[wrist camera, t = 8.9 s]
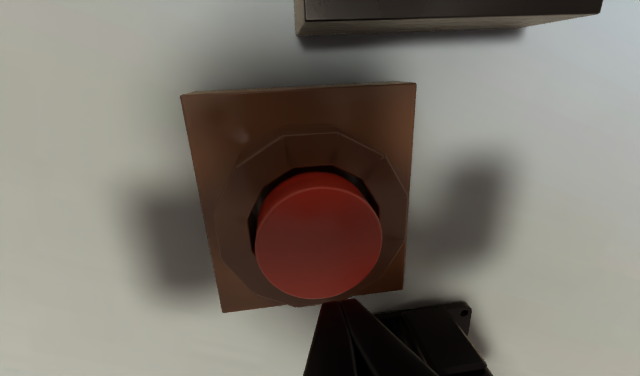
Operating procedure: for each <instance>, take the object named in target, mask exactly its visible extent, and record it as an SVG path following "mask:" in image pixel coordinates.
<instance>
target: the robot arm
mask: <svg viewBox="0 0 640 376" xmlns="http://www.w3.org/2000/svg"><path fill="white" fill-rule="evenodd" d="M471 313H472V310H471V308H470V307H469V306H468V304H467V303H465V302H459V303H452V304H444V305H437V306H430V307H423V308H416V309H408V310H401V311H394V312H387V313H380V314H374V315H373V314H371V313H370V312H369V311H368V310H367V309H366V308H365V307H364V306H363V305H362V304H361V303H360V302H359V301H357V300H356V299H346V300H341V301H340V302H338V301H331V302H324V303H323V304H322V306H321V310H320V314H319V317H318V321H317V325H316V329H315V333H314V336H313V340H312V344H311V348H310V351H309V355H308V359H307V363H306V366H305V370H304V374H303V376H493V375H492V373H491V372H490V370H489V369H488V368H487V364H486V362H485V361H484V359H483V358H482V357H481V355H480V354H479V352H478V351H477V350H476V348H475V347H474V346H473V344H472V343H471V341H470V340H469V339H468V331H469V325H470V319H471Z"/></svg>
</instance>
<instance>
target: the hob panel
mask: <svg viewBox="0 0 640 376" xmlns="http://www.w3.org/2000/svg"><path fill="white" fill-rule="evenodd" d="M602 2H603V0H294V11H295V27H296V35H297V36H304V35H335V34H366V33H397V32H428V31H459V30H490V29H516V28H522V27H527V26H533V25H539V24H544V23H550V22H556V21H561V20H567V19H573V18H578V17H584V16H590V15H595V14H599V13H600V11H601V7H602Z"/></svg>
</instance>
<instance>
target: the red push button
mask: <svg viewBox="0 0 640 376" xmlns="http://www.w3.org/2000/svg"><path fill="white" fill-rule="evenodd" d="M381 247H382V229H381V224H380V222H379V219H378V217H377V215H376V213H375V211H374V210H373V208H372V207H371V206H370V204H369V203H368V201H367V200H366V199H365V197H364V196H363V194H362V193H361V192H360V190H359V189H358V188H357V187H356V186H355V185H354V184H353V183H351V182H350V181H349V180H347V179H345V178H343V177H341V176H339V175H336V174H333V173H329V172H322V171H312V172H305V173H301V174H297V175H294V176H292V177H290V178H288V179H286V180H284V181H283V182H281V183H280V184H278V185H277V186H276V187H275V188H274V189H273V190H272V191H271V192H270V193H269V194H268V196H267V197H266V198H265V200H264V202H263V204H262V206H261V208H260V211H259V215H258V220H257V229H256V239H255V255H256V259H257V262H258V265H259V268H260V269H261V271H262V273H263V274H264V276H265V277H266V278H267V279H268V281H269V282H270V283H272V284H273V285H274V286H275V287H276V288H278V289H279V290H281V291H283V292H285V293H287V294H289V295H292V296H295V297H299V298H305V299H323V298H329V297H333V296H336V295H339V294H342V293H344V292H346V291H348V290H350V289H352V288H353V287H355V286H356V285H358V284H359V283H360V282H361V281H362V280H364V279H365V277H366V276H367V275H368V274H369V273H370V272H371V270H372V269H373V268H374V266H375V264H376V262H377V260H378V257H379V255H380V251H381Z"/></svg>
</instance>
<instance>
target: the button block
mask: <svg viewBox="0 0 640 376" xmlns="http://www.w3.org/2000/svg"><path fill="white" fill-rule="evenodd" d="M180 99H181V104H182V109H183V115H184V120H185V125H186V130H187V135H188V140H189V145H190V150H191V155H192V160H193V166H194V171H195V176H196V181H197V186H198V191H199V196H200V201H201V206H202V212H203V217H204V222H205V227H206V232H207V237H208V242H209V247H210V252H211V258H212V263H213V268H214V273H215V278H216V283H217V288H218V293H219V298H220V304H221V309H222V312H223V313H227V312H235V311H243V310H250V309H258V308H266V307H273V306H281V305H290V306H293V307H305V306H312V305H320V304H323V303H324V302H331V301H338V302H340V301H341V300H346V299H347V298H349V297H351V296H357V295H365V294H373V293H380V292H388V291H396V290H402V289H403V282H404V267H405V252H406V237H407V222H408V207H409V191H410V176H411V161H412V146H413V131H414V116H415V100H416V83H411V82H399V81H390V82H371V83H351V84H331V85H312V86H292V87H272V88H253V89H233V90H213V91H195V92H191V93H187V94H183V95H181V96H180ZM312 171H322V172H329V173H333V174H336V175H339V176H341V177H343V178H345V179H347V180H349V181H350V182H351V183H353V184H354V185H355V186H356V187H357V188H358V189H359V190H360V192H361V193H362V194H363V196H364V197H365V199H366V200H367V201H368V203H369V204H370V206H371V207H372V208H373V210H374V211H375V213H376V215H377V217H378V219H379V222H380V224H381V229H382V247H381V251H380V255H379V257H378V260H377V262H376V264H375V266H374V268H373V269H372V270H371V272H370V273H369V274H368V275H367V276H366V277H365V279H364V280H362V281H361V282H360V283H359V284H358V285H356V286H355V287H353V288H352V289H350V290H348V291H346V292H344V293H342V294H339V295H336V296H333V297H329V298H323V299H305V298H299V297H295V296H292V295H289V294H287V293H285V292H283V291H281V290H279V289H278V288H276V287H275V286H274V285H273V284H272V283H270V282H269V281H268V279H267V278H266V277H265V276H264V274H263V273H262V271H261V269H260V268H259V265H258V262H257V259H256V255H255V239H256V229H257V220H258V215H259V211H260V208H261V206H262V204H263V202H264V200H265V198H266V197H267V196H268V194H269V193H270V192H271V191H272V190H273V189H274V188H275V187H276V186H277V185H278V184H280V183H281V182H283V181H284V180H286V179H288V178H290V177H292V176H294V175H297V174H301V173H305V172H312Z"/></svg>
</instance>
